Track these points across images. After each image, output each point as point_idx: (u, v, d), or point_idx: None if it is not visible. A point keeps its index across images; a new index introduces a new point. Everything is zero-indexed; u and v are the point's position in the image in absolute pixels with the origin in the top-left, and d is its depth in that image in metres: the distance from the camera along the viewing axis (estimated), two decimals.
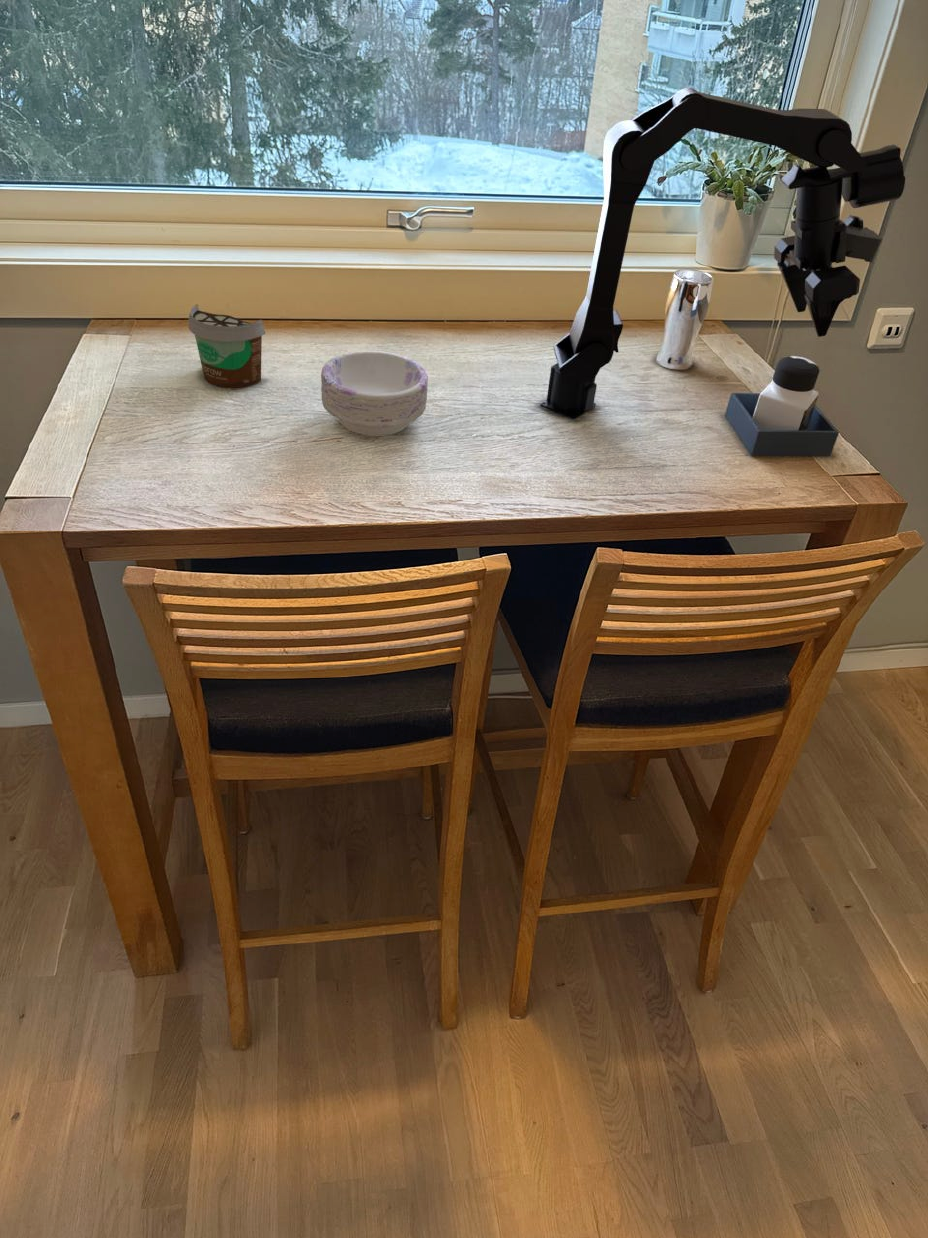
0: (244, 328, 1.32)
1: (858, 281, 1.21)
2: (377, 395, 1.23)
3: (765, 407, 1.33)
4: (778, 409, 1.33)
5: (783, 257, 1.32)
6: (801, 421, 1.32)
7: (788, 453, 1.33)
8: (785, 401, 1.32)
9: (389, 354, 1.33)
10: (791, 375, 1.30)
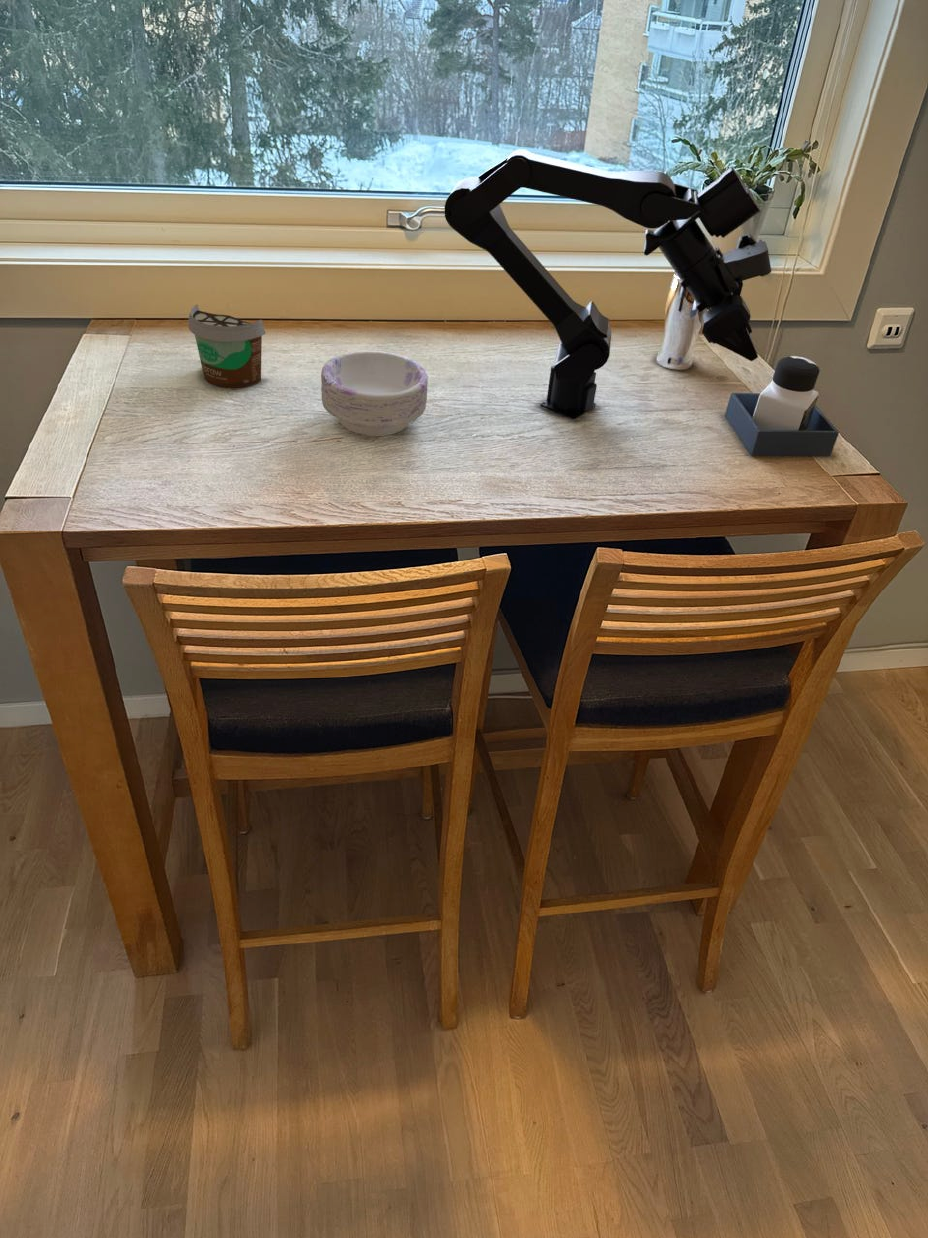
0: (244, 328, 1.32)
1: (741, 307, 1.18)
2: (377, 395, 1.23)
3: (765, 407, 1.33)
4: (778, 409, 1.33)
5: None
6: (801, 421, 1.32)
7: (788, 453, 1.33)
8: (785, 401, 1.32)
9: (389, 354, 1.33)
10: (791, 375, 1.30)
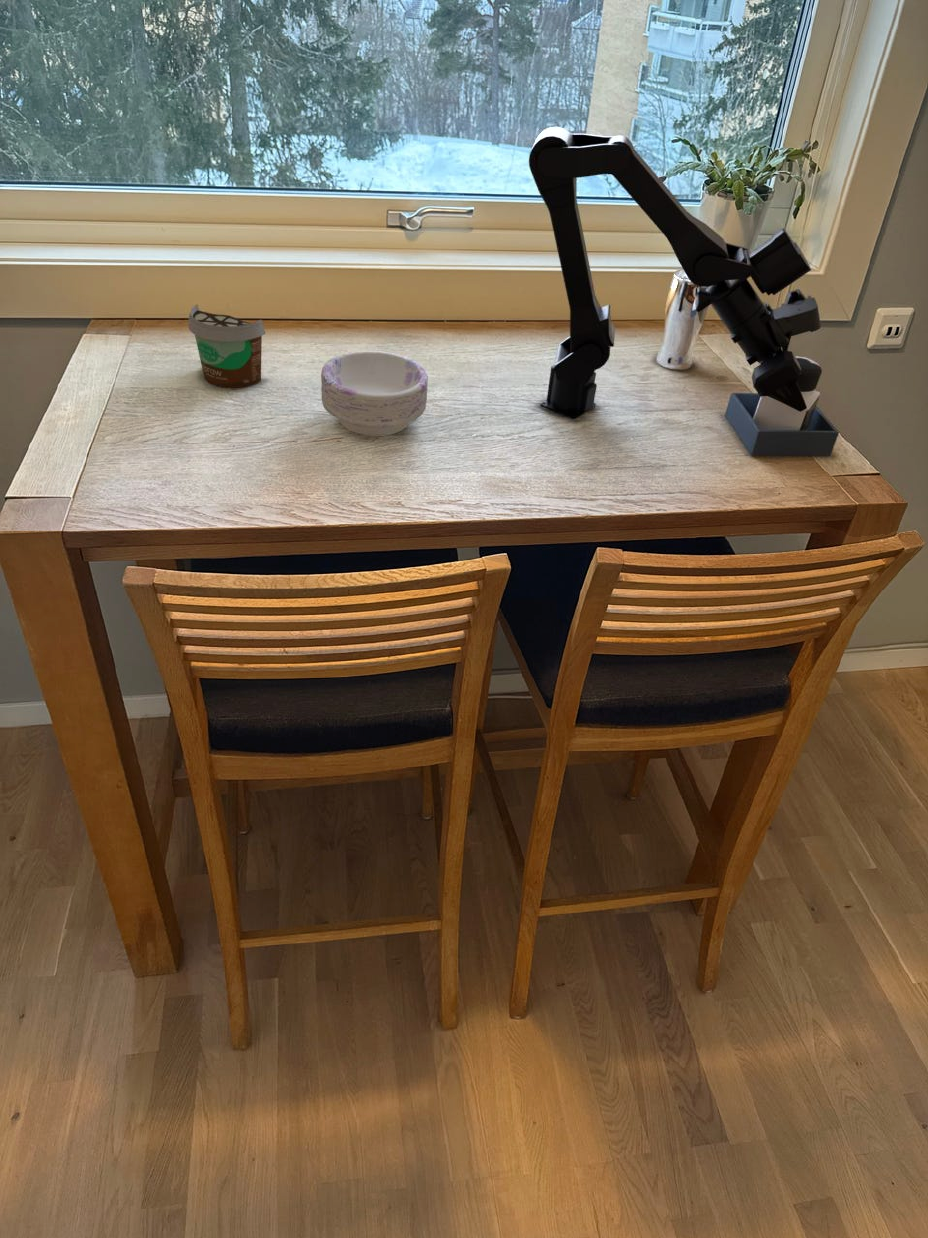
0: (244, 328, 1.32)
1: (793, 364, 1.22)
2: (377, 395, 1.23)
3: (767, 407, 1.33)
4: (779, 409, 1.32)
5: None
6: (802, 421, 1.32)
7: (788, 453, 1.33)
8: None
9: (389, 354, 1.33)
10: None
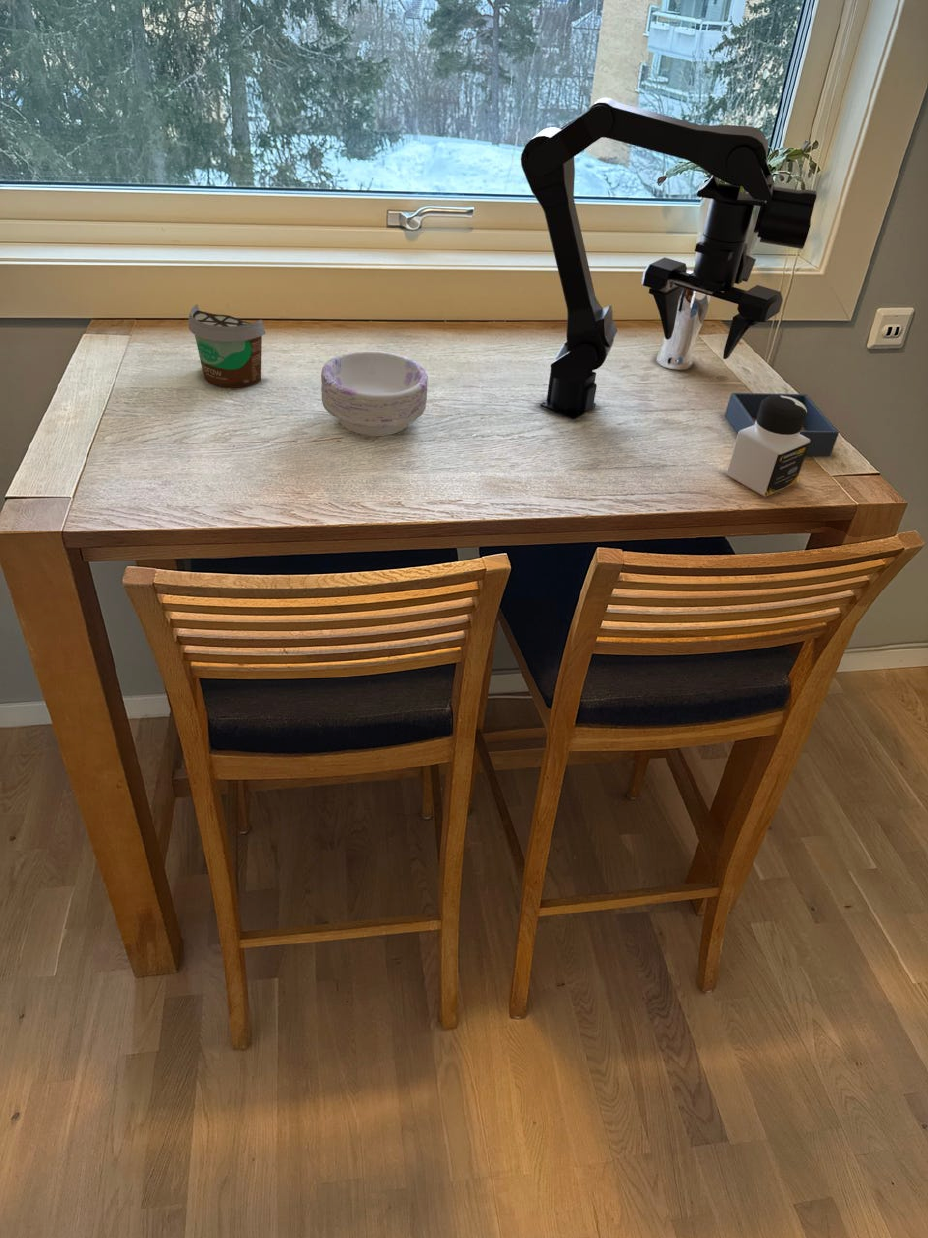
0: (244, 328, 1.32)
1: None
2: (377, 395, 1.23)
3: (743, 445, 1.24)
4: (754, 449, 1.23)
5: (666, 283, 1.25)
6: (774, 466, 1.21)
7: None
8: (761, 442, 1.21)
9: (389, 354, 1.33)
10: (768, 414, 1.19)
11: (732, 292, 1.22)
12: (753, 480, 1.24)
